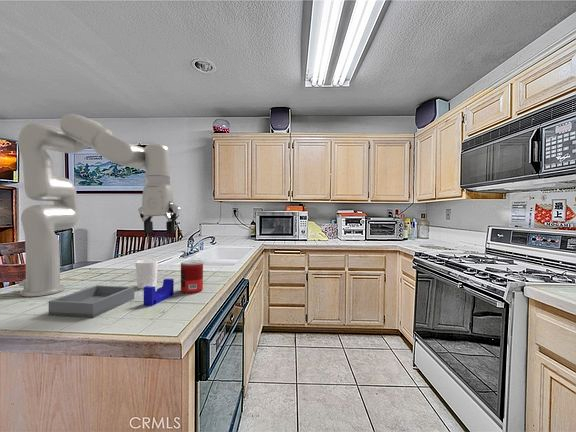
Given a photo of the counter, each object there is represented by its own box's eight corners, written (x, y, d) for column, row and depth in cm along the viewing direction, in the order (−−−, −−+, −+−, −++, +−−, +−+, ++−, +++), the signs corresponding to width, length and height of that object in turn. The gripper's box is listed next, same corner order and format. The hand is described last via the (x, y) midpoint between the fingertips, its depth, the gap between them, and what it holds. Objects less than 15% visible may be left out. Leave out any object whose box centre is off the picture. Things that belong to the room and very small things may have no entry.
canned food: (207, 289, 113) (207, 260, 112) (192, 295, 105) (192, 264, 105) (191, 287, 116) (191, 259, 116) (176, 292, 109) (176, 262, 108)
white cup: (162, 285, 117) (162, 260, 117) (143, 290, 111) (143, 263, 111) (150, 283, 122) (150, 258, 121) (131, 287, 115) (131, 261, 115)
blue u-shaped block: (162, 294, 106) (162, 278, 106) (173, 295, 105) (173, 279, 105) (139, 305, 94) (139, 287, 94) (152, 306, 93) (152, 287, 93)
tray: (48, 315, 85) (48, 301, 85) (96, 296, 102) (96, 285, 102) (93, 317, 83) (93, 303, 83) (134, 298, 101) (134, 286, 101)
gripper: (129, 182, 99) (131, 233, 99) (170, 179, 93) (171, 234, 93) (147, 184, 106) (148, 232, 106) (186, 181, 100) (187, 232, 100)
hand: (159, 233), depth 100 cm, fingers open, 9 cm apart
